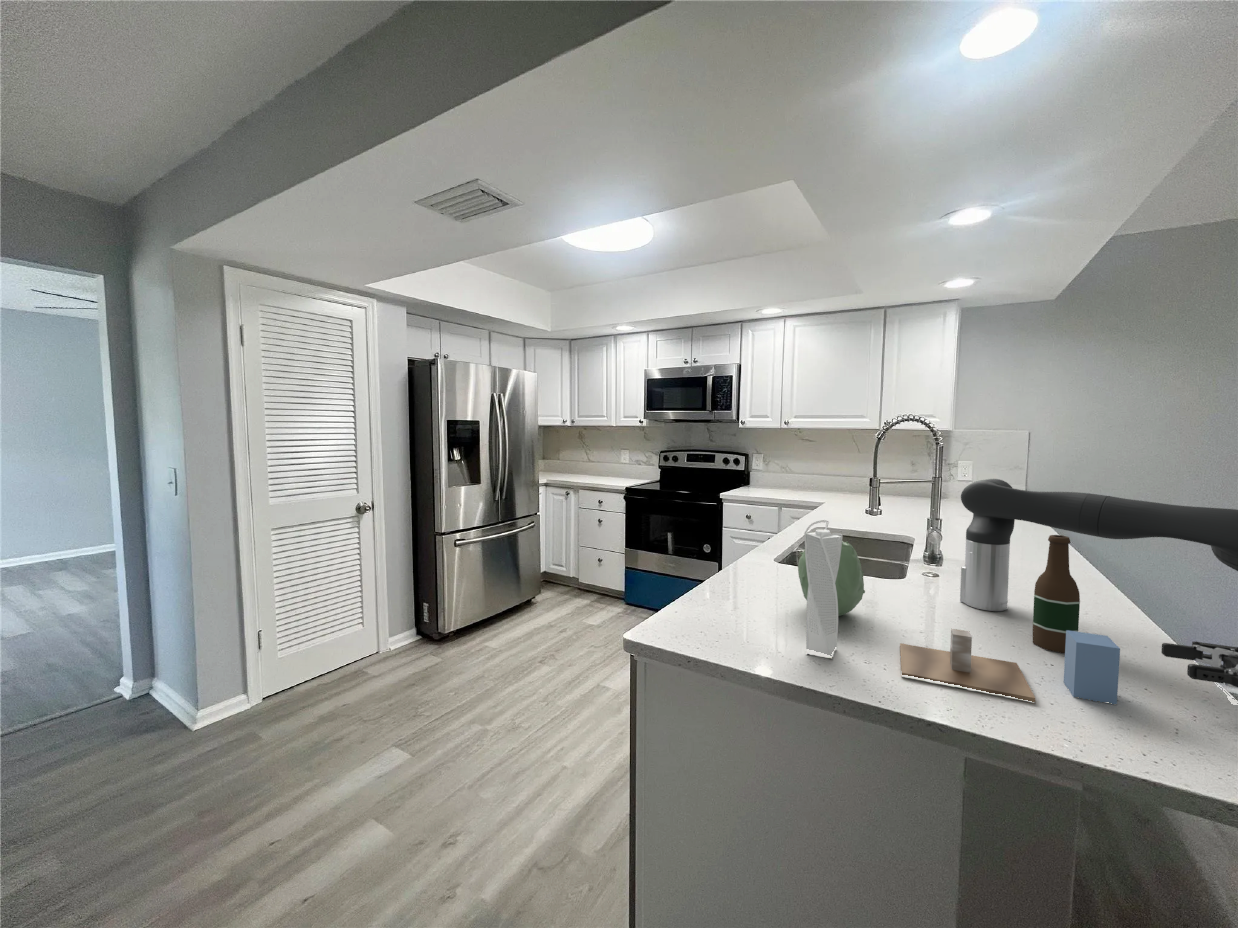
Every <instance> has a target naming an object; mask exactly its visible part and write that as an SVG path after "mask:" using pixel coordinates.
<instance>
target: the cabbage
mask: <svg viewBox="0 0 1238 928" xmlns="http://www.w3.org/2000/svg"><path fill="white" fill-rule="evenodd" d="M799 554H800V555H801V556H800V558H799V560H798V564H797V570H798V572H797V573H798V579H799V583H800V586H801V591H802V594H803V597H804V599H805V601H807V595H808V586H809V584H808V577H807V569H806V557H805V549H804V550H803V552H799ZM864 581H865V580H864V570H862V562H861V561H860V559H859V556H858V553H857V551H856V550H855V548H854V547H853V545H852V544H851V543H849V541H843V540H842V546H841V555H840V562H839V568H838V573H837V578H836V582H835V585H836V591H837V600H838V617H840V616H844V615H846V614H848V613H850V612H851V611H853V610H854V609H855V608H856V607H857V605H858V604H859V603H860V602H861V601H862V599H863V596H864V594H865V593H866V590H865V582H864Z"/></svg>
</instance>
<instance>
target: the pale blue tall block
mask: <svg viewBox="0 0 1238 928" xmlns="http://www.w3.org/2000/svg"><path fill="white" fill-rule="evenodd" d="M1120 655H1121V647H1119V646H1118V645H1117V644H1116V643H1115V642H1114V641H1113V640H1112V639H1111V638H1110V637H1109V636H1108V635H1104V634H1097V633H1089V632H1082V631H1078V632H1076V631H1069V630H1066V644H1065V653H1064V663H1063V664H1064V666H1063V667H1064V668H1063V684H1064V685H1065V687H1066V688H1067V690H1068V689H1069V690H1068V691H1069V693H1070V694H1071V696H1072V697H1073V698H1075V697H1079V698H1078V699H1080V698H1083V699H1082V700H1086V699H1088V700H1087V701H1091V700H1093V701H1092V702H1097V701H1100V702H1099V703H1102V702H1109V703H1112V704H1111V705H1113V704H1118V693H1119V692H1118V689H1119V677H1120V676H1119V673H1120V659H1121V656H1120ZM1089 699H1090V700H1089Z"/></svg>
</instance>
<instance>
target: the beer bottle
mask: <svg viewBox="0 0 1238 928" xmlns="http://www.w3.org/2000/svg"><path fill="white" fill-rule="evenodd" d="M1047 541H1048V542H1049V546H1048V553H1047V560H1046V561H1047V562H1046V567H1045V569H1044V571H1043V573H1041V574H1040V575H1039V576H1038V578H1037V579H1036V581H1035V583H1034V591H1033V593H1034V596H1033V609H1032V610H1033V611H1032V613H1033V617H1032V643H1033V645H1035V646H1037V647H1039V648H1041V649H1043V650H1046V651H1048V652H1049V651H1051V652H1055V653H1058V654H1059V653H1060V654H1065V644H1066V630H1069V631H1076V632H1079V627H1080V626H1079V623H1080V604H1081V596H1080V594H1081V593H1080V589H1079V587H1078V584H1077V582H1076V580H1075V579H1074V578H1073V576H1072V575H1071V572H1070V550H1069V549H1070V548H1069V547H1070V545H1069V544H1071V539H1070V537H1069V536H1066V535H1060V534H1050V535H1049V536H1048V538H1047Z"/></svg>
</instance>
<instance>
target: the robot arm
mask: <svg viewBox="0 0 1238 928" xmlns="http://www.w3.org/2000/svg"><path fill="white" fill-rule="evenodd" d="M960 501H961V503H962V505H963V507H964V508H965V509H966V510H967V511H969V512H970V513H972V519H971V522H970V524H969V525H968V527H967V528H966V532H965V551H964V552H965V554H964V555H965V556H964V561H965V562H964V566H963V565H962V566H961V568H960V587H959V589H960V592H959V593H960V594H959V602H960V603H964V604H965V605H967V606H968V607H972V608H974V609H977V610H982V611H990V612H1003V611H1007V609H1008V603H1009V597H1008V596H1009V579H1010V578H1009V576H1010V575H1009V574H1010V572H1009V571H1010V555H1011V553H1010V549H1011V547H1010V546H1011V537H1012V534H1013V532H1014V528H1015V521H1023V522H1029V523H1034V524H1036V525H1041V526H1045V527H1050V528H1053V529H1054V528H1055V529H1059V530H1061V531H1062V530H1063V531H1068V532H1072V533H1077V534H1082V535H1087V536H1091V537H1092V536H1093V537H1097V538H1104V539H1108V540H1109V539H1111V540H1133V539H1137V540H1138V539H1148V538H1167V539H1168V538H1169V539H1177V540H1181V541H1187V542H1193V543H1198V544H1203V545H1208V546H1210V547H1211V551H1212V553H1213V555H1214V556H1215V558H1216V559H1217V560H1218V561H1220V562H1221V563H1222V564H1224V565H1225V566H1227V567H1229V568H1231V569H1233V570H1235V571H1237V572H1238V509H1234V508H1221V507H1205V506H1192V505H1191V506H1189V505H1178V504H1177V505H1176V504H1169V503H1160V502H1156V501H1155V502H1154V501H1148V500H1138V499H1132V498H1123V497H1117V496H1113V495H1112V496H1111V495H1104V494H1096V493H1089V492H1088V493H1087V492H1078V491H1077V492H1075V491H1033V490H1023V489H1018V488H1013V486H1012V485H1010V483H1008V482H1007V481H1005V480H1003V479H998V478H988V479H981V480H976V481H974V482H972V483H969V484H968V485H967V486H966V487H964V488H963V489H962V491H961V494H960ZM1160 652H1161V654H1162V656H1164V657H1167V658H1172V659H1180V660H1186V661H1187V660H1189V661H1195V662H1199V663H1202V664H1203V665H1202V664H1196V663H1189V664H1188V665H1187V671H1186V672H1187V673H1186V674H1187V676H1188V677H1189V678H1190V679H1193V680H1197V681H1202V682H1204V681H1205V682H1209V683H1210V682H1211V683H1218V684H1224V685H1225V686H1227V687H1230V688H1234V689H1238V646H1233V645H1232V646H1230V645H1223V644H1218V643H1217V644H1216V643H1208V642H1201V641H1192V643H1191V645H1184V644H1177V643H1170V642H1169V643H1168V642H1163V643H1162V644H1161V651H1160ZM1207 653H1208V654H1207ZM1204 664H1206V665H1204Z"/></svg>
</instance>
